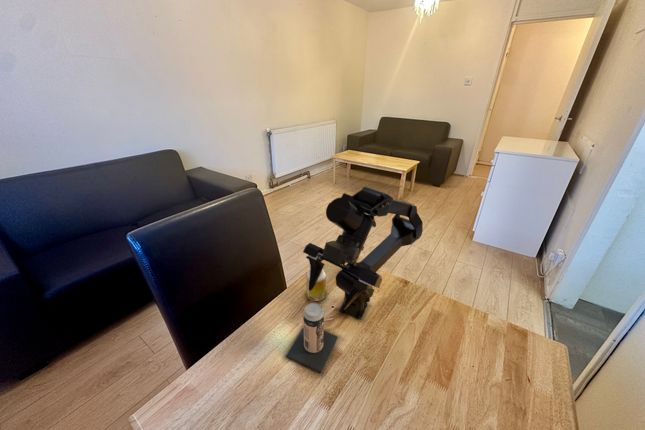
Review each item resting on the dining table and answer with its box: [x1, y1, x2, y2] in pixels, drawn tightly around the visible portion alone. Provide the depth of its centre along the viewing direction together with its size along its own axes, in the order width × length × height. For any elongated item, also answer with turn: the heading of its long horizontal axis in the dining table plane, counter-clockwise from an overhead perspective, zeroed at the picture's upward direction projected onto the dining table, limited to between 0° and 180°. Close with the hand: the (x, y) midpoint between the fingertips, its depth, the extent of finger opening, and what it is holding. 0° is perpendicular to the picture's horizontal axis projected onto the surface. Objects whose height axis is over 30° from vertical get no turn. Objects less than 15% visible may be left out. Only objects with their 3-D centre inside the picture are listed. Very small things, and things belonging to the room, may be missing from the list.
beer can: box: [302, 302, 325, 353], centre depth 61 cm, size 5×5×12 cm
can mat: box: [285, 327, 339, 374], centre depth 63 cm, size 10×9×1 cm
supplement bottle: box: [306, 268, 327, 302], centre depth 77 cm, size 6×6×10 cm
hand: (326, 299), depth 59 cm, fingers open, 9 cm apart
